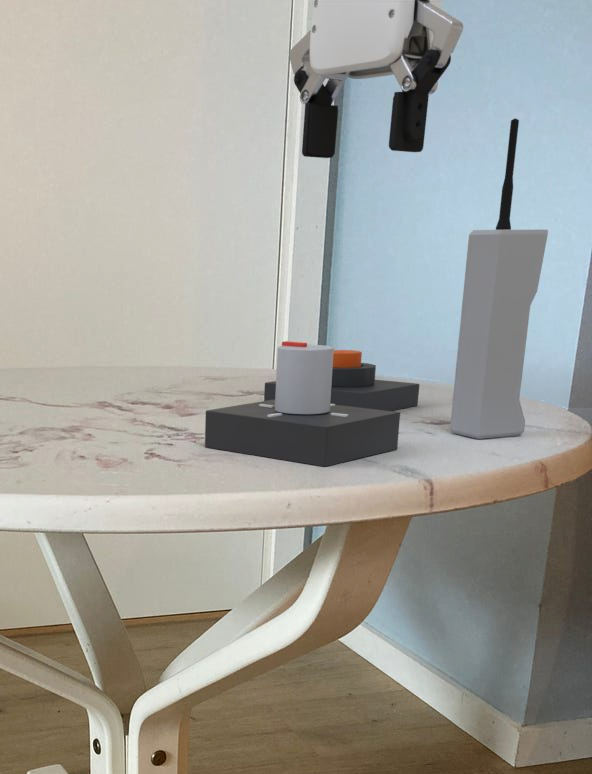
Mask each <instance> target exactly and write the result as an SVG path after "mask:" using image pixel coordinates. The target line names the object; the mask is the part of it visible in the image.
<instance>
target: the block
mask: <svg viewBox="0 0 592 774" xmlns="http://www.w3.org/2000/svg"><path fill="white" fill-rule="evenodd" d="M376 369H377V365H376V364H373V363H367V362H361V367H347V368H345V367H333V368H332V384H331V401H330V404H335V405H342V406H350V407H359V408H367V409H376V410H384V411H396V410H403V409H408V408H413V407H418V405H419V396H420V395H419V393H420V383H414V382H406V381H405V382H404V381H394V380H384V379H376ZM263 393H264V394H263V401H268V400H274V399H275V394H276V380H274V381H267V382H264V391H263Z"/></svg>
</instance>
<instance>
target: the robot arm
mask: <svg viewBox="0 0 592 774" xmlns="http://www.w3.org/2000/svg"><path fill="white" fill-rule="evenodd" d="M312 5H313V6H312V13H311V23H310V24H311V25H310V30H309V31H308V32H307V33H306V34H305V35H303V37H302V38H301V39H300V40H299V41H297V43H296V44H295V45H294V46H293V47H292V48H291V49H290V51H289V55H288V56H289V61H290V65H291V69H292V73H293V75H294V76H293V83H294V85H295V87H296V89H297V90H298V92H299V101H300V103H301V104H303V105H304V117H303V129H302V132H303V133H302V144H301V145H302V146H301V154H302V156H303V157H305V158H317V159H318V158H320V159H331V158H333V157H334V156H335V154H336V143H337V132H338V119H339V106H338V105H335V104H333V103H334V101H335V99H336V98H337V96H338V95H339V92H340V91H341V89H342V87H343V86H344V83H345V82H346V81H347V79H348V78H349V79H352V80H365V79H372V78H373V79H374V78H381V77H388V76H389V77H390V76H394V77H395V79H396V81H397V83H398V85H399V87H400V89H401V91H395V92H394V93H393V96H392V105H391V114H390V115H391V117H390V128H389V137H388V148H389V149H390V150H391V151H393V152H403V153H404V152H405V153H421V152H422V151H423V149H424V144H425V135H426V126H427V116H428V106H429V97H430V95H433V94H434V93H435V92H436V91H437V90H438V85H439V83H438V82H439V80H440V78H442V76H443V74H444V73H445V72H446V70H447V69H448V68H449V66H450V65H451V61H452V54H453V53H454V51H455V49H456V46H457V44H458V42H459V39H460V37H461V35H462V33H463V30H464V24H463V22H462V21H460V20H459V19H457V18H456V17H454V16H453V15H451V14H449V13H448V12H446V11H444V9H443V0H313V4H312ZM326 79H328V80H327V82H326V84H324V82H325V80H326Z"/></svg>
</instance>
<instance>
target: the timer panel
mask: <svg viewBox="0 0 592 774" xmlns="http://www.w3.org/2000/svg"><path fill="white" fill-rule="evenodd" d="M400 421H401V412H400V411H394V410H392V411H384V410H376V409H367V408H359V407H350V406H342V405H335V404H330V411H329V412H327V413H323V414H312V415H299V414H286V413H280V412H277V411H275V399H274V400H268V401H264V400H263V401H256V402H250V403H242V404H238V405H232V406H231V405H230V406H225V407H219V408H213V409H207V410H205V427H204V433H205V434H204V448H207V449H208V448H209V449H214V450H220V451H228V452H232V453H233V452H234V453H239V454H246V455H251V456H256V457H257V456H258V457H262V458H263V457H264V458H270V459H276V460H283V461H289V462H294V463H300V464H306V465H312V466H318V467H324V468H325V467H329V466H333V465H338V464H342V463H346V462H350V461H354V460H359V459H364V458H367V457H372V456H376V455H379V454H383V453H388V452H393V451H397V450H398V445H399V431H400Z"/></svg>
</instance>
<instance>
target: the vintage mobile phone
mask: <svg viewBox="0 0 592 774" xmlns="http://www.w3.org/2000/svg"><path fill="white" fill-rule="evenodd" d="M519 124H520V119H519V118H518V119H517V118H515V117H514V118H513V119H511V120H510V125H509V134H508V135H509V136H508V145H507V146H508V147H507V156H506V165H505V174H504V180H503V184H502V188H501V195H500V196H501V198H500V205H499V206H500V207H499V216H498V221H497V223H496V227H495V229H473V230H472V231H471V232H470V233H469V234H468V241H467V252H466V262H465V272H464V280H463V281H464V282H463V290H462V291H463V292H462V303H461V304H462V305H461V313H460V323H459V333H458V343H457V351H456V352H457V354H456V364H455V372H454V373H455V374H454V383H453V384H454V385H453V393H452V405H451V414H450V423H449V430H450V431H451V433H453V434H455V435H460V436H463V437H467V438H468V437H469V438H472V439H478V440H483V439H484V440H485V439H494V438H495V439H496V438H506V437H507V438H508V437H517V436H521V435H522V434H523V433H524V432H525V428H526V427H525V426H526V419H525V415H524V412H523V407H522V405H521V401H520V397H521V390H522V389H521V388H522V379H523V372H524V363H525V354H526V345H527V337H528V330H529V329H528V328H529V321H530V313H531V305H532V303H533V301H534V299H535V297H536V294H537V293H538V289H539V285H540V278H541V273H542V269H543V262H544V257H545V252H546V246H547V242H548V235H549V230H548V229H512V225H511V212H512V211H511V210H512V202H513V193H514V172H515V171H514V170H515V160H516V151H517V142H518V134H519V133H518V132H519V126H520V125H519Z"/></svg>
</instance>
